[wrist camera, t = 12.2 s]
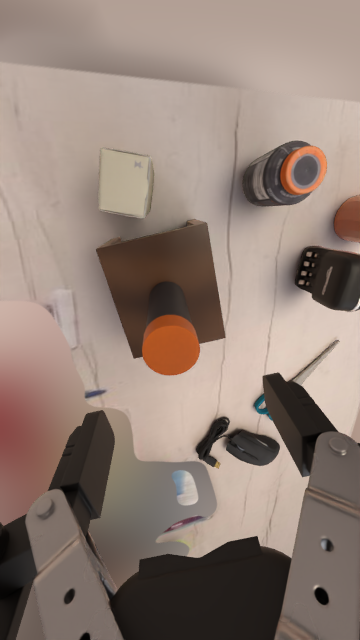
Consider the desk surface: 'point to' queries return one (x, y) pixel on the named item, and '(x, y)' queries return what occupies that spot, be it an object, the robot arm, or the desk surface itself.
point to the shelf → (163, 279)
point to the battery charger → (331, 277)
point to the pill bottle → (284, 175)
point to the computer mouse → (239, 446)
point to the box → (125, 183)
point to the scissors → (297, 378)
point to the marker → (169, 332)
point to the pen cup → (348, 220)
